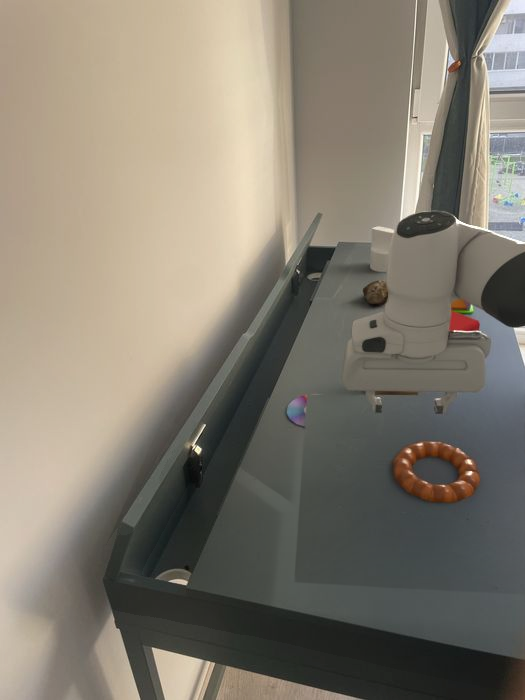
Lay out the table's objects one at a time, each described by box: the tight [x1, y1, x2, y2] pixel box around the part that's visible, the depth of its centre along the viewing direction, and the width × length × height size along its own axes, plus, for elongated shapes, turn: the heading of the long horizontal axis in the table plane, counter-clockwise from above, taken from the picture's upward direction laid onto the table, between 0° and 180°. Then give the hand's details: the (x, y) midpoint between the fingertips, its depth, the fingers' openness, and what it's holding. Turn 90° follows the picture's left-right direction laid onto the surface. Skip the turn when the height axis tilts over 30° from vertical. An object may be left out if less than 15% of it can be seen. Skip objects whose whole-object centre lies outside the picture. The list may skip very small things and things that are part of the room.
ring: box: [392, 441, 481, 504], centre depth 85 cm, size 13×13×3 cm
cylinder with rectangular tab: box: [369, 225, 395, 273], centre depth 164 cm, size 9×9×12 cm
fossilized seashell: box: [362, 279, 388, 306], centre depth 145 cm, size 8×7×10 cm
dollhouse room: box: [451, 299, 475, 315], centre depth 139 cm, size 12×12×7 cm
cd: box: [286, 393, 323, 428], centre depth 104 cm, size 11×11×1 cm
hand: (407, 411), depth 80 cm, fingers open, 8 cm apart
